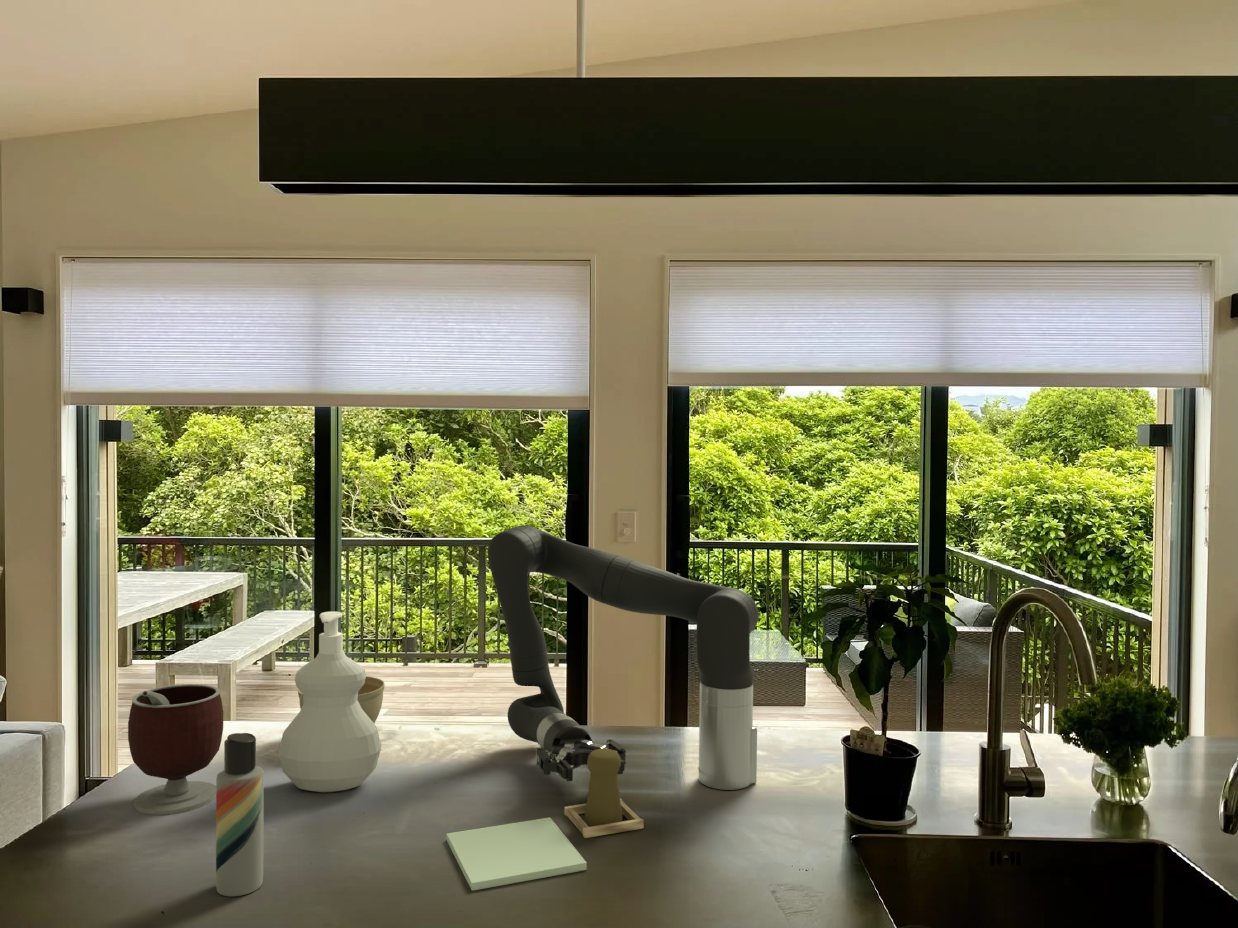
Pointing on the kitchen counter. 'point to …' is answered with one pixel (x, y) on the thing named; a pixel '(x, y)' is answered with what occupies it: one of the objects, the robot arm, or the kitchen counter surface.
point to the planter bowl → (366, 697)
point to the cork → (603, 788)
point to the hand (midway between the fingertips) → (596, 771)
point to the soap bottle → (330, 721)
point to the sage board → (514, 853)
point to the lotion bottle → (239, 818)
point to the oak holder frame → (606, 828)
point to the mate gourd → (175, 744)
